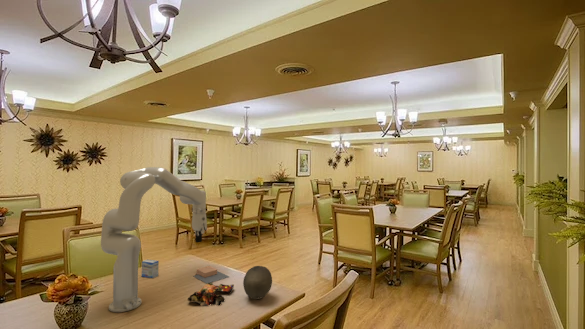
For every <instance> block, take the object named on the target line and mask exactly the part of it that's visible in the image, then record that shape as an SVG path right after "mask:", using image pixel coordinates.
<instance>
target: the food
mask: <svg viewBox="0 0 585 329" xmlns="http://www.w3.org/2000/svg"><path fill="white" fill-rule="evenodd" d="M234 288H235V284H223V283H219V284H218V285H215V284H213V282H212V283H207V284H206V283H205V284H204V285H203V286H201V288H200V289H199V290H198V291H195V292H194V293H192V294H191V295H190V296H189V297H188V298H187V301H188V302H190V303H198V304H200V305H201V306H200V307H209V306H211V305H210V304H213V305H215V306H217V305H218V306H220V304H221V305H222V303H225V301H226V298H225V297H224V296H223V295H221V294H217V293H218V292H226V293H227V296H228V295H229V296H230V294H231V293H232V292H233V290H234ZM231 291H232V292H231ZM230 292H231V293H230ZM229 293H230V294H229ZM224 300H225V301H224Z"/></svg>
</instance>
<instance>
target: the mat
mask: <svg viewBox="0 0 585 329" xmlns="http://www.w3.org/2000/svg"><path fill="white" fill-rule="evenodd" d="M193 277H194V278H195V279H197V280H199V281H200V282H203V283H204V284H205V285H206V284H207V283H212V284H213V283H214V282H218V281H221V280H224V279H227V278H230V276H229V275H227V274H225V273H223V272H221V271H219V270H217V274H215V275H212V276H209V277H205V278H204V277H202V276H200V275H198V274H196V275H193Z"/></svg>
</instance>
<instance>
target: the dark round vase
mask: <svg viewBox="0 0 585 329" xmlns="http://www.w3.org/2000/svg"><path fill="white" fill-rule="evenodd" d="M242 284H243V285H242V286H243V289H244V292H245V294H246V295H247V297H249V298H251V299H253V300H259V299H262V298H264V297H265V296H266V295H267V294H268V293H270V290H271V288H272V285H273V277H272V273H271V271H270V269H268V268H267V267H266V266H262V265H255V266H254V265H253V266H252V267H250V268H249V269H248V270H247V271H246V273H245V275H244V277H243V282H242Z"/></svg>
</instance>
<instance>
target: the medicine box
mask: <svg viewBox="0 0 585 329" xmlns="http://www.w3.org/2000/svg"><path fill="white" fill-rule="evenodd" d="M159 264H160V263H159V260H155V259H154V260H153V259H145V260H144V259H143V261H142V262H141V277H142V278H149V279H155V278H157V277H158V276H159Z"/></svg>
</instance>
